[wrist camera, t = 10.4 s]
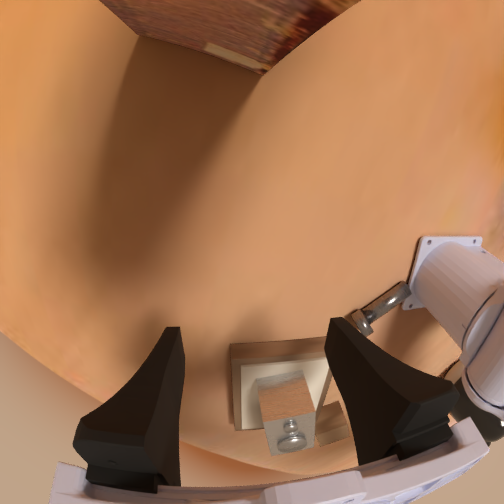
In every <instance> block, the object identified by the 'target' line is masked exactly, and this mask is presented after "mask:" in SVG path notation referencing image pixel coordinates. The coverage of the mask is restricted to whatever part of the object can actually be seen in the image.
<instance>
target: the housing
mask: <svg viewBox="0 0 504 504" xmlns="http://www.w3.org/2000/svg"><path fill="white" fill-rule="evenodd" d="M256 383H257V389H258V395H259V401H260V407H261V413H262V419H263V424H264V429H265V433H266V437H267V441H268V445H269V449H270V453H271V456H274V455H280V454H285V453H290V452H295V451H300V450H304V449H309V448H313V447H314V437H315V417H316V411H315V408H314V404H313V401H312V398H311V395H310V392H309V389H308V385H307V382H306V379H305V376H304V373H303V370H298V371H293V372H288V373H283V374H278V375H273V376H268V377H262V378H256Z"/></svg>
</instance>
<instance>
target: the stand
mask: <svg viewBox="0 0 504 504" xmlns="http://www.w3.org/2000/svg"><path fill="white" fill-rule="evenodd" d="M326 337H327V336H325V337H317V338H307V339H297V340H286V341H273V342H259V343H242V344H230V350H231V373H232V394H233V413H234V426H235V431H242V430H256V429H264V424H263V419H262V413H261V407H260V401H259V395H258V389H257V383H256V378H262V377H268V376H273V375H278V374H283V373H288V372H293V371H298V370H303V373H304V376H305V379H306V382H307V385H308V389H309V392H310V395H311V398H312V401H313V404H314V408H315V411H316V417H315V422H317V420H318V417H319V415H320V412H321V409H322V406H323V403H324V400H325V397H326V394H327V391H328V388H329V385H330V381H331V378H332V372H331V370H330V368H329V365H328V362H327V358H326V354H325V351H324V346H325V341H326Z"/></svg>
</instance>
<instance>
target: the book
mask: <svg viewBox="0 0 504 504" xmlns="http://www.w3.org/2000/svg"><path fill="white" fill-rule="evenodd" d="M99 1H101V2H102V3H103V4H104V5H105V6H106V7H108V8H109V9H110V10H111V11H112V12H113V13H114V14H115V15H117V16H118V17H119V18H120V19H121V20H122V21H123V22H124V23H125V24H126V25H128V26H129V27H130V28H131V29H132V30H133V31H134V32H135V33H136V34H137V35H142V36H146V37H150V38H154V39H158V40H162V41H166V42H169V43H173V44H177V45H180V46H183V47H187V48H190V49H193V50H196V51H199V52H202V53H205V54H208V55H211V56H214V57H217V58H220V59H223V60H225V61H228V62H231V63H233V64H236V65H238V66H241V67H244V68H246V69H248V70H251V71H253V72H256V73H258V74H260V75H264V74H265V73H266V72H268V71H269V70H270V69H271V68H272V67H273V66H274V65H276V64H277V63H278V62H279V61H280V60H282V59H283V58H284V57H285V56H286V55H288V54H289V53H290V52H291V51H292V50H294V49H295V48H296V47H297V46H299V45H300V44H301V43H302V42H304V41H305V40H306V39H307V38H309V37H310V36H311V35H313V34H314V33H315V32H317V31H318V30H319V29H321V28H322V27H323V26H325V25H326V24H327V23H329V22H330V21H331V20H333V19H334V18H336V17H337V16H338V15H340V14H341V13H343V12H344V11H346V10H347V9H349V8H350V7H352V6H353V5H355V4H356V3H358V2H359V1H361V0H99Z"/></svg>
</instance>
